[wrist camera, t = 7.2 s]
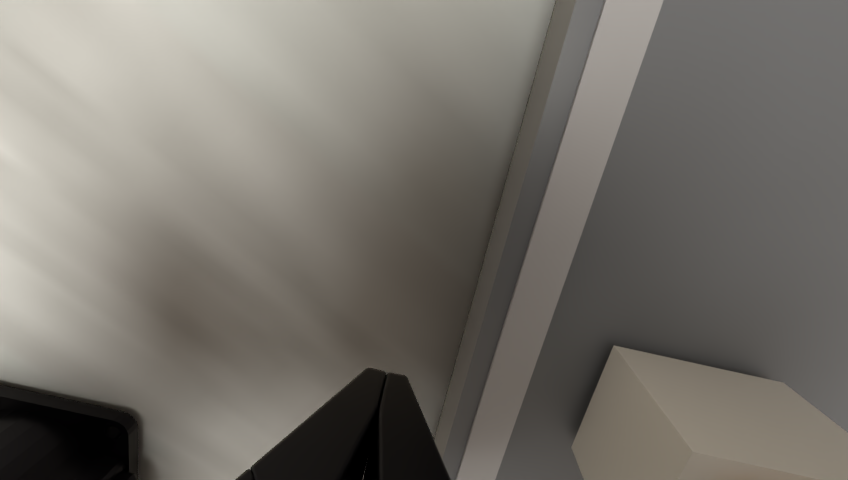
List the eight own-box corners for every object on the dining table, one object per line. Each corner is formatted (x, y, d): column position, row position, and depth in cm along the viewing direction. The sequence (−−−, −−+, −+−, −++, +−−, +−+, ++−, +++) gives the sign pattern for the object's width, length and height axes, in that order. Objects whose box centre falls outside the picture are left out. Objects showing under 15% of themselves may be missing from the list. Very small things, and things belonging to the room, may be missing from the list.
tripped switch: (571, 446, 10) (630, 601, 7) (613, 345, 9) (704, 468, 6) (726, 480, 10) (857, 650, 7) (783, 382, 9) (965, 525, 6)
